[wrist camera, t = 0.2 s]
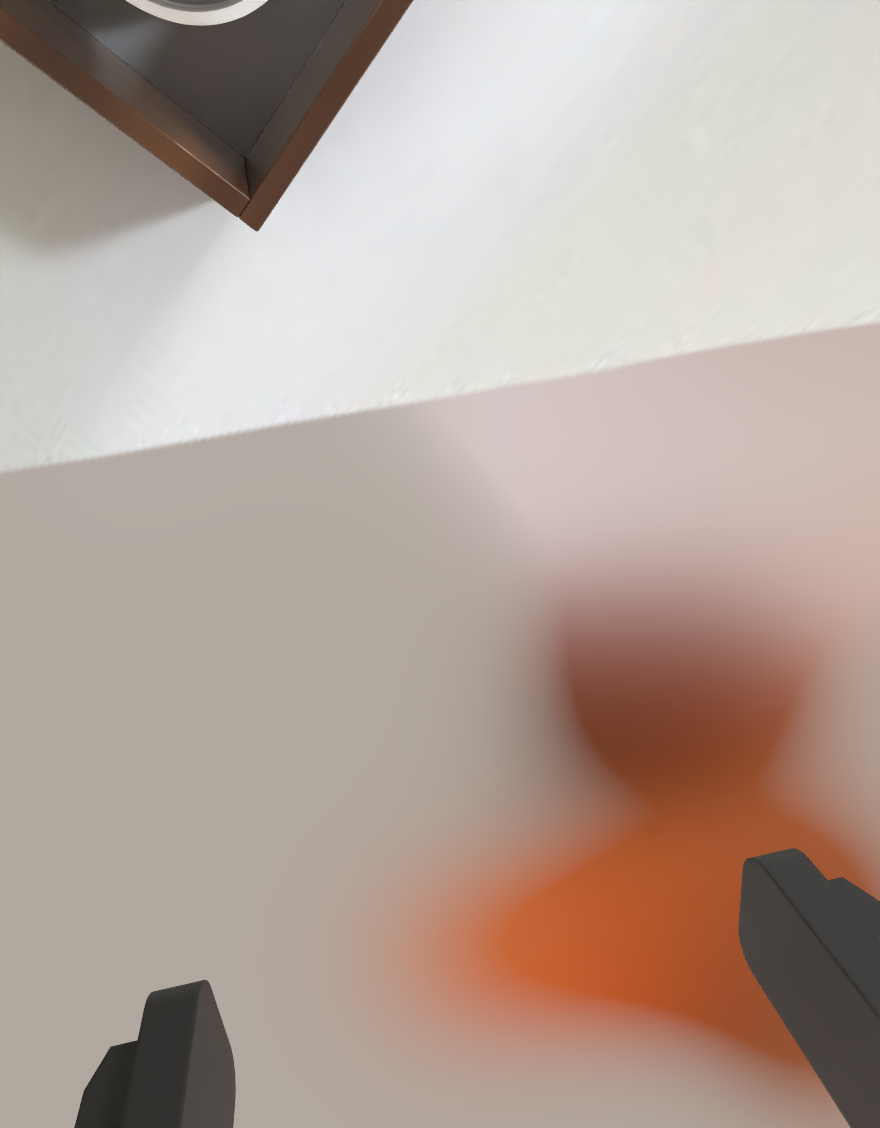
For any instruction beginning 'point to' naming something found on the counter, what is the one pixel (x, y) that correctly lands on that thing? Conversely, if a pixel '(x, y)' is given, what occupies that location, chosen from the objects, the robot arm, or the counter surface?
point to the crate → (136, 107)
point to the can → (198, 10)
